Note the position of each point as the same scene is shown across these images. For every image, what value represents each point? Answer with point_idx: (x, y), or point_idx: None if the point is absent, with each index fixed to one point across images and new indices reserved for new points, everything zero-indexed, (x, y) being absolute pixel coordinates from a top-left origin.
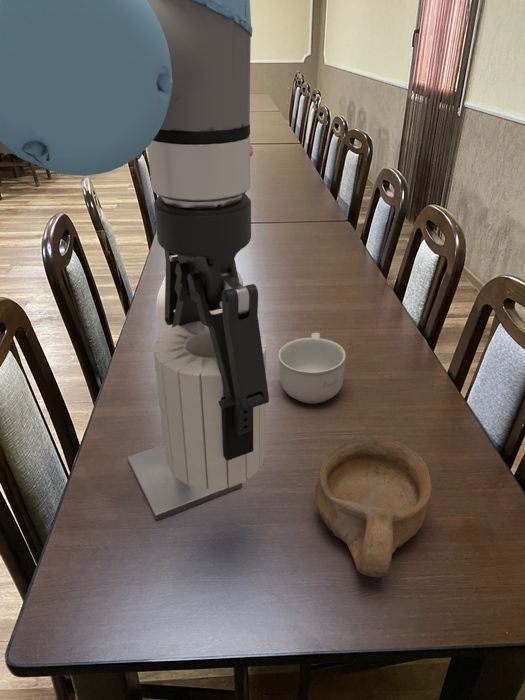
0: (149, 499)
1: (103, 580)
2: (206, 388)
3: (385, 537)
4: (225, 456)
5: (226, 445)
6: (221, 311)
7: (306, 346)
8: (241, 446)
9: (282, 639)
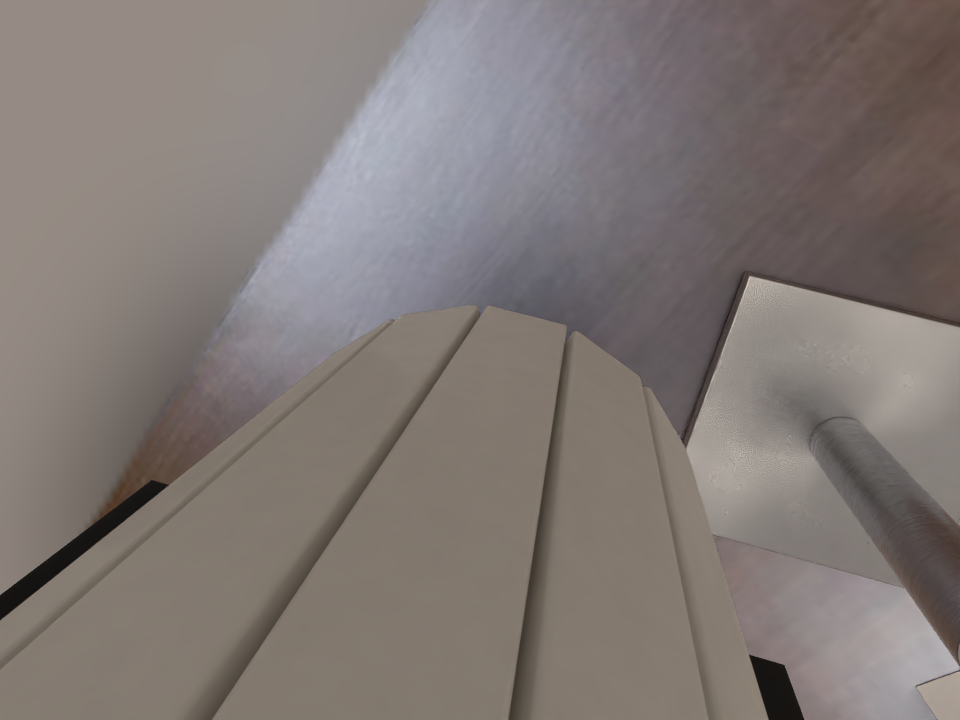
0: (818, 296)
1: (682, 41)
2: None
3: None
4: (151, 492)
5: (79, 537)
6: None
7: None
8: None
9: (275, 289)
